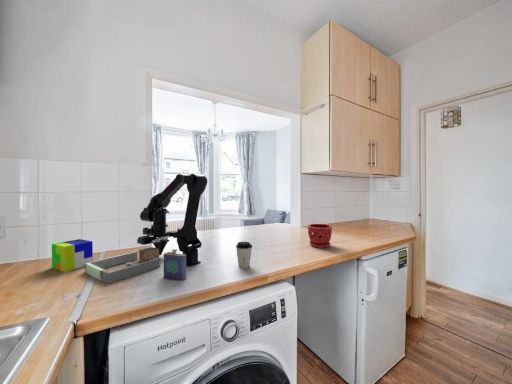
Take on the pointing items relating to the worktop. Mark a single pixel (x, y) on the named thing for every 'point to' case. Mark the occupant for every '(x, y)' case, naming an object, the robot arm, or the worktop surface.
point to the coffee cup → (244, 254)
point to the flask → (174, 266)
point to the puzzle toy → (71, 254)
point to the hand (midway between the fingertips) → (159, 255)
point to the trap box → (129, 270)
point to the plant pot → (319, 235)
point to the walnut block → (148, 254)
